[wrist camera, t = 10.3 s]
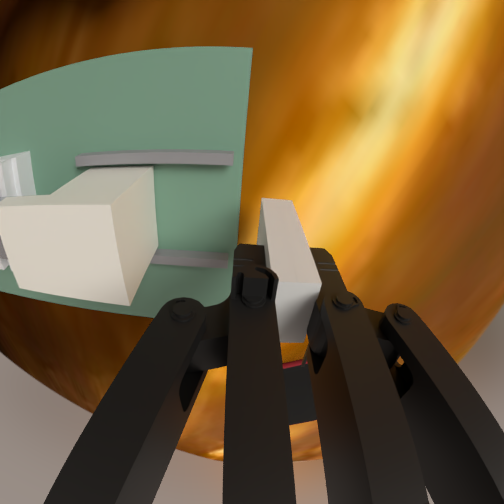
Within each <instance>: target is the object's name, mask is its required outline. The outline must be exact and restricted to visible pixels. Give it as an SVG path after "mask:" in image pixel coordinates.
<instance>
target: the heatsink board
mask: <svg viewBox="0 0 504 504" xmlns="http://www.w3.org/2000/svg"><path fill="white" fill-rule="evenodd" d="M252 51H253V48H243V47H178V48H164V49H153V50H144V51H136V52H129V53H122V54H116V55H111V56H106V57H100V58H96V59H91V60H87V61H83V62H79V63H75V64H71V65H67V66H64V67H60V68H57V69H53V70H50V71H47V72H44V73H41V74H38V75H35V76H32V77H30V78H27V79H24V80H22V81H19V82H17V83H14V84H12V85H9V86H7V87H5V88H3V89H0V197H9V196H29V195H50V194H52V193H53V192H55V191H56V190H58V189H59V188H60V187H62V186H63V185H65V184H66V183H68V182H69V181H71V180H72V179H74V178H76V177H77V176H79V175H80V174H82V173H83V172H85V171H87V170H88V169H90V168H92V167H114V166H153V169H154V192H155V209H156V222H157V234H158V245H159V246H158V248H157V250H156V252H155V254H154V256H153V258H152V260H151V262H150V264H149V266H148V268H147V270H146V272H145V274H144V276H143V278H142V281H141V283H140V285H139V287H138V289H137V292H136V294H135V296H134V298H133V300H132V303H131V305H130V306H125V305H117V304H110V303H103V302H96V301H89V300H82V299H76V298H70V297H64V296H58V295H52V294H47V293H41V292H36V291H31V290H26V289H21V288H19V286H18V283H17V281H16V279H15V276H14V274H13V271H12V268H11V266H10V263H9V260H7V259H1V258H0V291H3V292H7V293H11V294H15V295H20V296H24V297H29V298H33V299H38V300H43V301H48V302H53V303H58V304H63V305H69V306H74V307H80V308H86V309H92V310H99V311H105V312H112V313H119V314H127V315H135V316H143V317H151V318H155V316H156V315H157V313H158V312H159V310H160V309H161V307H162V306H163V305H164V304H165V303H166V302H168V301H170V300H172V299H174V298H181V297H186V298H192V299H195V300H197V301H199V302H200V303H201V304H202V305H203V306H204V307H207V306H212V305H216V304H219V303H221V302H223V301H225V300H226V299H227V298H228V297H229V295H230V293H231V281H232V272H233V257H234V250H235V248H236V247H237V241H238V226H239V211H240V197H241V183H242V169H243V156H244V143H245V131H246V118H247V107H248V95H249V83H250V72H251V61H252Z"/></svg>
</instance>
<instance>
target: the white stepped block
mask: <svg viewBox="0 0 504 504" xmlns="http://www.w3.org/2000/svg"><path fill="white" fill-rule="evenodd" d="M0 236H1V240H2V243H3V246H4V249H5V252H6V255H7V258H8V260H9V263H10V266H11V268H12V271H13V274H14V276H15V279H16V281H17V283H18V286H19V288H21V289H26V290H31V291H36V292H41V293H47V294H52V295H58V296H64V297H70V298H76V299H82V300H89V301H96V302H103V303H110V304H117V305H125V306H130V305H131V303H132V300H133V298H134V296H135V294H136V292H137V289H138V287H139V285H140V283H141V281H142V278H143V276H144V274H145V272H146V270H147V268H148V266H149V264H150V262H151V260H152V258H153V256H154V254H155V252H156V250H157V248H158V246H159V245H158V234H157V222H156V209H155V192H154V169H153V166H114V167H92V168H90V169H88V170H87V171H85V172H83V173H82V174H80V175H79V176H77V177H76V178H74V179H72V180H71V181H69V182H68V183H66V184H65V185H63V186H62V187H60V188H59V189H58V190H56V191H55V192H53V193H52V194H50V195H33V196H17V197H6V198H4V199H3V200H2V201H0Z"/></svg>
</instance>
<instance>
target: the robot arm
mask: <svg viewBox="0 0 504 504" xmlns="http://www.w3.org/2000/svg"><path fill="white" fill-rule="evenodd" d="M306 334H307V335H308V340H309V344H308V346H307V349H306V352H305V355H304V357H303V360H302V366H301V367H305V364H306V362H308V368H309V374H310V380H311V386H312V391H313V398H314V404H315V410H316V416H317V423H318V429H319V436H320V443H321V450H322V457H323V463H324V471H325V478H326V487H327V495H328V503H329V504H429V501H428V496H427V492H426V488H427V490H428V492H429V494H430V496H431V498H432V500H433V502H434V504H504V432H503V431H502V429H501V428H500V426H499V424H498V423H497V421H496V419H495V418H494V416H493V415H492V413H491V412H490V410H489V409H488V407H487V406H486V404H485V403H484V401H483V400H482V398H481V397H480V395H479V394H478V392H477V391H476V389H475V388H474V387H473V385H472V384H471V382H470V381H469V380H468V378H467V377H466V376H465V374H464V373H463V372H462V370H461V369H460V368H459V366H458V365H457V363H456V362H455V361H454V359H453V358H452V357H451V356H450V354H449V353H448V352H447V350H446V349H445V348H444V347H443V345H442V344H441V343H440V342H439V340H438V339H437V338H436V337H435V335H434V334H433V333H432V332H431V330H430V329H429V328H428V327H427V326H426V324H425V323H424V322H423V321H422V320H421V318H420V317H419V316H418V315H417V314H416V313H415V312H414V311H413V310H412V309H411V308H409V307H407V306H405V305H402V304H398V303H396V304H391V305H389V306H387V308H386V310H385V312H384V313H382V312H378V311H374V310H370V309H367V308H364V306H363V304H362V302H361V301H360V299H359V298H358V297H357V296H356V295H354V294H353V293H351V292H348V291H347V289H346V287H345V285H344V282H343V280H342V278H341V275H340V273H339V271H338V268H337V266H336V265H335V262H334V259H333V257H332V255H331V254H329V253H328V252H327V251H326V250H325V249H323V248H309V245H308V242H307V240H306V237H305V234H304V231H303V229H302V226H301V223H300V221H299V218H298V215H297V213H296V210H295V207H294V205H293V202H292V201H291V200H280V199H268V198H262V201H261V210H260V220H259V229H258V238H257V245H251V244H239V245H238V246H237V247H236V248H235V250H234V257H233V272H232V281H231V293H230V295H229V297H228V298H227V299H226V300H225V301H223V302H221V303H219V304H216V305H212V306H207V307H204V306H203V305H202V304H201V303H200V302H199V301H197V300H195V299H192V298H186V297H181V298H174V299H172V300H170V301H168V302H166V303H165V304H164V305H163V306H162V307H161V309H160V310H159V312H158V313H157V315H156V316H155V318H154V319H153V321H152V322H151V324H150V325H149V327H148V328H147V330H146V331H145V333H144V334H143V336H142V337H141V339H140V340H139V342H138V343H137V345H136V346H135V348H134V349H133V351H132V352H131V354H130V356H129V357H128V359H127V360H126V362H125V363H124V365H123V366H122V368H121V370H120V371H119V373H118V374H117V376H116V377H115V379H114V381H113V382H112V384H111V385H110V387H109V389H108V390H107V392H106V394H105V395H104V397H103V398H102V400H101V402H100V403H99V405H98V407H97V408H96V410H95V412H94V413H93V415H92V417H91V418H90V420H89V422H88V424H87V425H86V427H85V429H84V430H83V432H82V434H81V435H80V437H79V439H78V441H77V442H76V444H75V446H74V448H73V450H72V451H71V453H70V455H69V457H68V458H67V460H66V462H65V464H64V466H63V467H62V469H61V471H60V473H59V475H58V477H57V479H56V481H55V483H54V484H53V486H52V488H51V490H50V492H49V494H48V496H47V498H46V500H45V502H44V504H152V502H153V500H154V498H155V495H156V493H157V491H158V488H159V486H160V484H161V481H162V479H163V477H164V474H165V472H166V470H167V467H168V465H169V462H170V460H171V458H172V455H173V453H174V451H175V448H176V446H177V443H178V441H179V439H180V436H181V434H182V431H183V429H184V427H185V424H186V422H187V419H188V417H189V415H190V412H191V410H192V407H193V405H194V403H195V400H196V398H197V395H198V393H199V391H200V388H201V386H202V383H203V381H204V379H205V376H206V374H207V371H208V370H209V369H214V368H219V367H223V366H227V377H226V400H225V427H224V459H223V504H296V495H295V483H294V472H293V461H292V451H291V440H290V430H289V420H288V410H287V401H286V391H285V382H284V373H283V364H282V355H281V347H280V342H304V340H305V337H306ZM400 356H401V358H402V359H403V361H404V363H403V365H400V364H399V363H398V362H397V360H398V358H399V357H400ZM425 486H426V487H425Z"/></svg>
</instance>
